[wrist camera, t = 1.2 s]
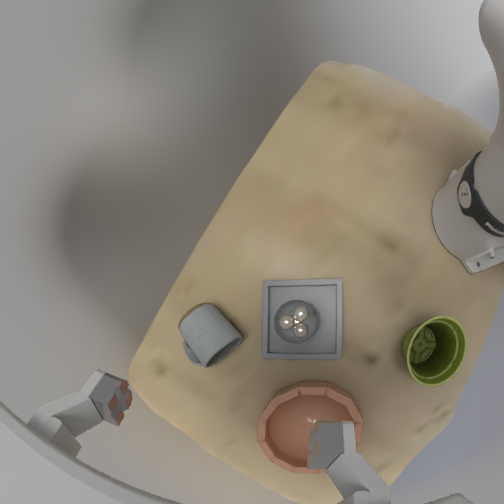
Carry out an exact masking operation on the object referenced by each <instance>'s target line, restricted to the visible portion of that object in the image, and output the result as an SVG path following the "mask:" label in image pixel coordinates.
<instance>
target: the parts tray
mask: <svg viewBox="0 0 504 504" xmlns="http://www.w3.org/2000/svg"><path fill="white" fill-rule="evenodd" d="M291 300H302V301H305V302H307V303H310V304H312V305H314V306H315V307H316V308H317V310H318V311H319V314H320V325H319V327H318V329H317V331H316V332H315V334H314V335H313V336H312V337H311V338H310V339H309V340H308V341H306V342H303V343H300V344H292V343H288V342H286V341H284V340H283V339H281V338H280V337H279V336H278V334H277V332H276V330H275V327H274V317H275V314H276V312H277V310H278V309H279V308H280V306H282V305H283V304H284V303H286V302H288V301H291ZM341 357H342V278H340V279H313V280H276V281H263V323H262V358H269V359H309V360H316V359H341Z"/></svg>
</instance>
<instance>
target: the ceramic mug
mask: <svg viewBox="0 0 504 504" xmlns="http://www.w3.org/2000/svg"><path fill="white" fill-rule="evenodd" d="M178 328H179V331H180V333H181V335H182V337H183V338H184V341H183V347H184V350H185V353H186V355H187V356H188V358H189V359H190V360H191V361H192V362H193V363H194V364H196V365H200V366H201V365H203V366H205V367H210V366H212V365H214V364H216V363H218V362H219V361H221V360H222V359H223V358H225V357H226V356H227V355H228V354H230V353H231V352H232V351H233V350H234V349H235V348H236V347H237V346H238V345H239V344H240V343H241V341H242V339H243V337H242V335H241V334H240V333H239V332H238V331H237V330H236V329H235V328H234V327H233V325H232V324H231V323H230V322H229V321H228V320H227V319H226V318H225V317H224V316H223V315H222V313H221V312H220V311H219V310H218V309H217V308H216V307H215V306H213V305H212V304H210V303H201V304H198V305H196V306H195V307H193V308H191V309H190V310H189V311H188V312H186V313H185V315H184V316H183V317H182V318H181V320H180V322H179V325H178Z"/></svg>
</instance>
